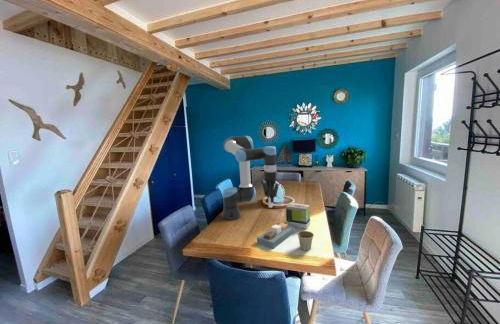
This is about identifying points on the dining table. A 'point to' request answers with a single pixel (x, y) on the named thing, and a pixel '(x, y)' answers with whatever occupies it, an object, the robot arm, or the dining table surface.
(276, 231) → the cream key
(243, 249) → the dining table surface
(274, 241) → the grey slotted tray
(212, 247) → the dining table surface
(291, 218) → the tea box
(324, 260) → the dining table surface
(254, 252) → the dining table surface
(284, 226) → the terracotta key
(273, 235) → the walnut key
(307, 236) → the flower pot
